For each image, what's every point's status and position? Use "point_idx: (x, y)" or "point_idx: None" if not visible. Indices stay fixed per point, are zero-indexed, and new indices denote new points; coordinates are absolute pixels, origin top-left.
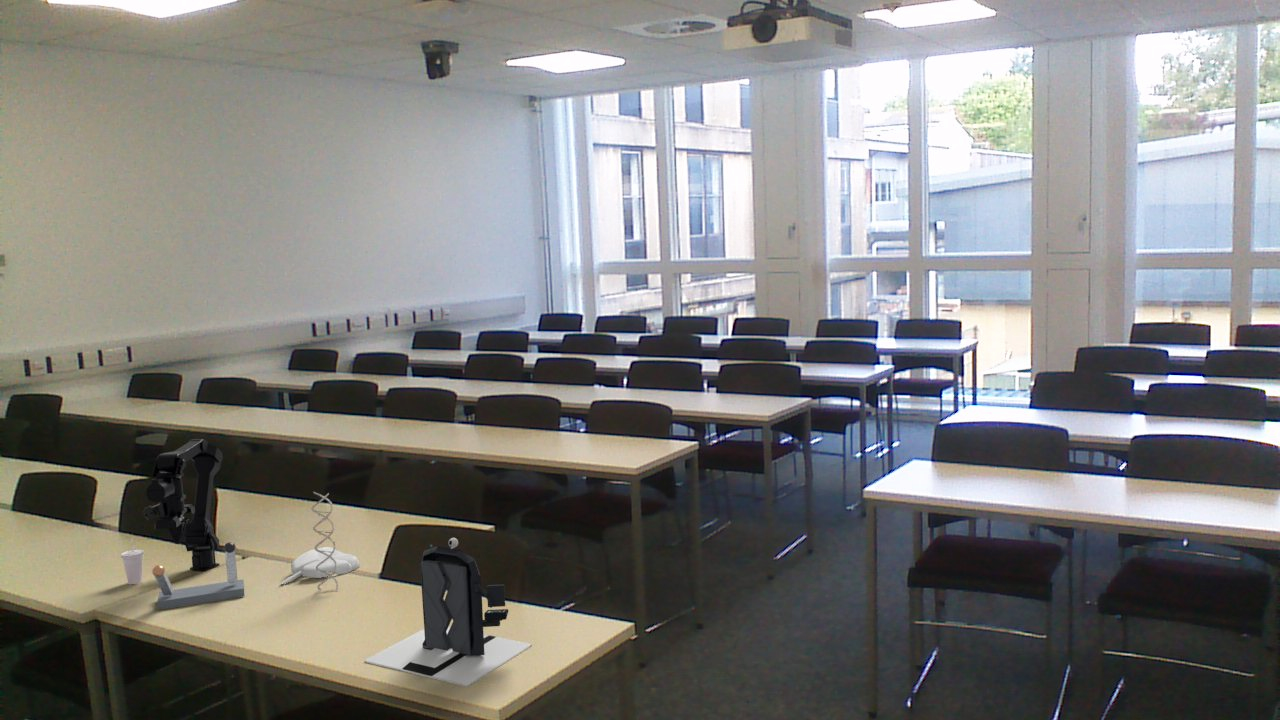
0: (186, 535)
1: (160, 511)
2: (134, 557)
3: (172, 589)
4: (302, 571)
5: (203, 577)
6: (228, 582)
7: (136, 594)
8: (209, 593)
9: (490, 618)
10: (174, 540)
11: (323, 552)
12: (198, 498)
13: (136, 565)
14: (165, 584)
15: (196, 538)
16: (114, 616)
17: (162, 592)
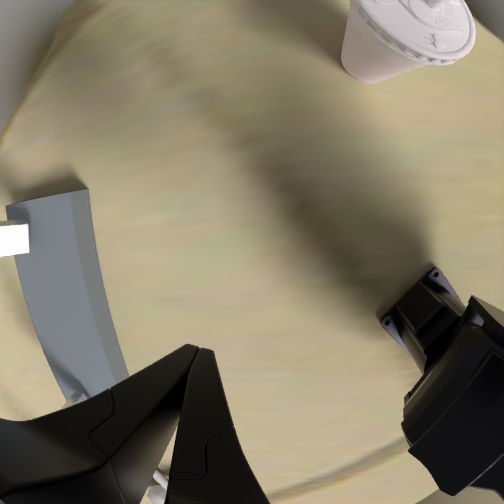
0: (483, 365)
1: None
2: (355, 7)
3: (18, 252)
4: (152, 491)
5: (303, 321)
6: (77, 394)
7: (191, 81)
8: (39, 340)
9: None
10: (161, 362)
11: None
12: None
13: (356, 37)
14: None
15: (438, 400)
16: (24, 91)
17: (10, 221)
